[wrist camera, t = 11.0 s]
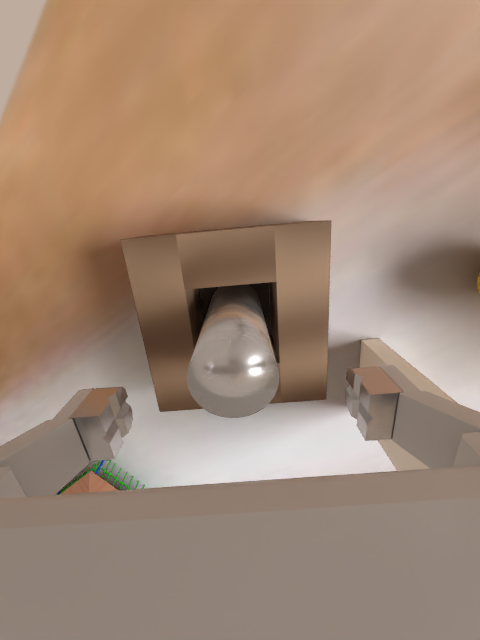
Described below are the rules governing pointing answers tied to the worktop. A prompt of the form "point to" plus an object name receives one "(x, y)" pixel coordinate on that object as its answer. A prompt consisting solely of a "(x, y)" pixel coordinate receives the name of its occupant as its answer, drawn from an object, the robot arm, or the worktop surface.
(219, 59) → the worktop surface
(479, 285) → the lemon
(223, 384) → the peg
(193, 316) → the socket block
